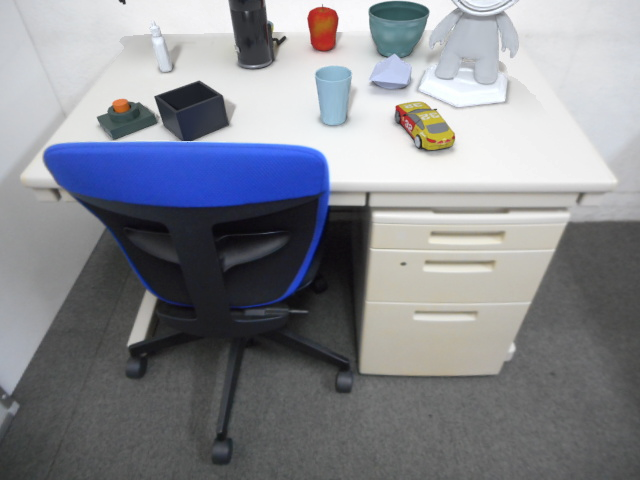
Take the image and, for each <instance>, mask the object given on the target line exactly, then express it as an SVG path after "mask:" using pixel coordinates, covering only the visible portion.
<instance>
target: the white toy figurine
mask: <svg viewBox="0 0 640 480" xmlns="http://www.w3.org/2000/svg"><path fill="white" fill-rule="evenodd" d="M450 1H451V2H452V3H453V5H455V6H456V8H454V9H453V10H451V11H450V12H449V13H448V14H447V15H446V16H445V17H444V18H442V19H441V21H440V22H438V23H437V25H435V27H434V29H433V30H432V32H431V34H430V35H429V38H428V39H429V40H428V48H429V49H430V50H433V49H434V48H435V45H436V44H437V43H438V42H439V45H440V46H443V45H444V43H445V41H446V39H447V37H448V35H449V34H450V35H449V37H448V39H447V41H446V43H445V45H444V47H443V49H442V51H441V55H440V56H439V59H438V62H437V64H431V65H429V66H428V67H427V68H426V69H425V72H424V75H423V77H422V79H421V82H420V84H419V86H418V92H421V93H422V94H425V95H427V96H430V97H432V98H434V99H437V100H439V101H441V102H444V103H445V104H448V105H451V106H453V107H455V108H465V107H474V106H482V105H491V104H492V105H493V104H499V103H500V104H501V103H505V101H506V96H507V88H508V77H507V75H506V74H505V73H503V72H501V71H499V61H500V57H499V56H500V41H501V52H502V53H505V52H506V49H508V51H509V58H510V59H513V58H515V56H516V55H517V53H518V51H519V47H520V39H519V35H518V31H517V29H516V27H515V25H514V23H513V21H512V19H511V17H510V16H509V15H508V14H507V12H505V11H506V10H508V9H510V8H511V7H513V6H514V5H515V4H517V3H518V2H520V0H450ZM450 32H451V33H450ZM499 36H500V39H499ZM464 59H466V61H464ZM470 60H474V62H472V61H470Z"/></svg>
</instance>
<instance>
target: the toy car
mask: <svg viewBox="0 0 640 480" xmlns="http://www.w3.org/2000/svg"><path fill="white" fill-rule="evenodd" d="M394 120H395V122H396V123H397V124H401V125H402V126H403V128H404V129H405V130H406V132H408V133H409V135H410V136H411V138H412V139H413V140H414V145H415V146H416V148H417V149H418V150H419V149H425V150H428V151H435V150H442V149H446V148H450V147H452V146H454V144H455V142H456V134H455V132H454V131H453V129H452V128H451V127H450V126H449V125H448V123H447V122H446V120H444V118H443V117H442V115H441V114H440V113H439V112H438V108H431V106H430V105H428V104H427V103H426V102H423V101H409V102H404V103H399V104H396V105H395V111H394ZM408 133H407V134H408Z"/></svg>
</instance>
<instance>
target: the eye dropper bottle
mask: <svg viewBox="0 0 640 480" xmlns="http://www.w3.org/2000/svg"><path fill="white" fill-rule="evenodd" d="M149 30H150V34H151V44H152V47H153V51H154V54H155V57H156V61H157V65H158V68H159V70H160V71H161V72H162V73H168V72H171V71H173V64H172V59H171V55H170V52H169V49H168V45H167V42H166V38H165V36H163V35H162V31H161V28H160V26H159V25H157V24H156V22H155V20H151V26H150V27H149Z"/></svg>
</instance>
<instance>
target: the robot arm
mask: <svg viewBox="0 0 640 480" xmlns="http://www.w3.org/2000/svg"><path fill="white" fill-rule="evenodd" d="M126 1H127V0H118V2H119V3H122V5H123V6H124V5H127V2H126ZM227 2H228V7H229V8H228V9H229V13H230V19H231V25H232V32H233V38H234V44H233V46H234V50H235V51H236V55H237V56H236V57H237V64H238V66H240V67H241V68H244V69H249V70H256V69H262V68H265V67H267V66H269V65H271V64H272V63H273V62H275V60H276V59H275V50H274V49H275V47H274V42H275V44H276V45H280V44H281V43H283V42H284V41H285V40H286V39H287V36H286V35H283V36H282V37H281V38H280V39H279V38H277V37H273V34H272V29H271V24H270V23H268V21H269V20H268V13H267V3H266V0H227ZM267 20H268V21H267Z"/></svg>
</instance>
